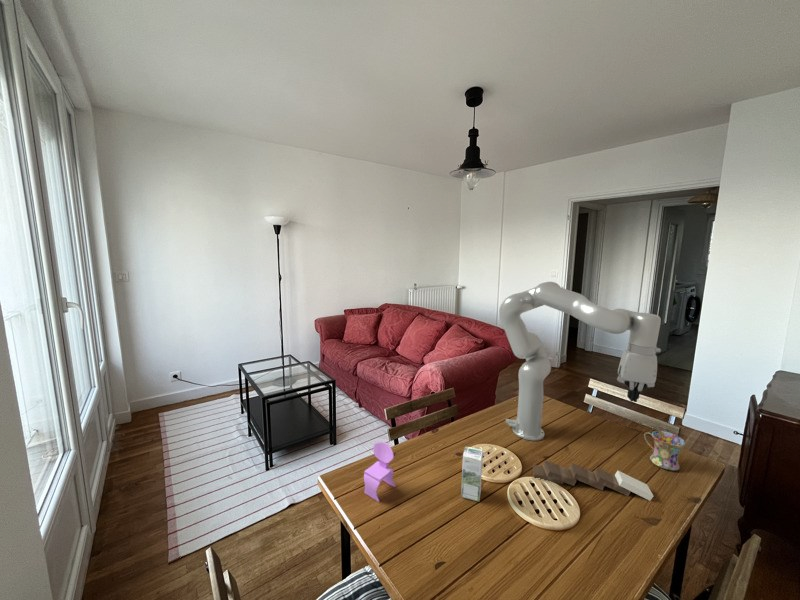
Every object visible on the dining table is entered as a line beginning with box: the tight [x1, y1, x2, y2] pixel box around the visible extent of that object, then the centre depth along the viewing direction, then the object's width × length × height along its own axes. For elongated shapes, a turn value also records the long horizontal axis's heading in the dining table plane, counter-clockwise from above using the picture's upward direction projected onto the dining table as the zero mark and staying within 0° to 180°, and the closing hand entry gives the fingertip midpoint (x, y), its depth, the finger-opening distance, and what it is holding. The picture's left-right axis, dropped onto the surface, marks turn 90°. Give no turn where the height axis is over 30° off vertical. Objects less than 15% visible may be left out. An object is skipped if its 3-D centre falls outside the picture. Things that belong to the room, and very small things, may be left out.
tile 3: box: [542, 460, 577, 486], centre depth 109 cm, size 2×5×9 cm
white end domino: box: [614, 470, 654, 502], centre depth 104 cm, size 2×5×9 cm
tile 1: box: [593, 467, 631, 497], centre depth 106 cm, size 2×5×9 cm
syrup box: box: [460, 446, 484, 503], centre depth 102 cm, size 6×6×14 cm
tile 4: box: [532, 464, 564, 485], centre depth 111 cm, size 2×5×9 cm
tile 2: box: [569, 463, 606, 491], centre depth 108 cm, size 2×5×9 cm
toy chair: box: [363, 441, 396, 503], centre depth 103 cm, size 8×9×15 cm
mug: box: [643, 430, 686, 471], centre depth 118 cm, size 12×9×11 cm
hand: (632, 399), depth 113 cm, fingers closed
